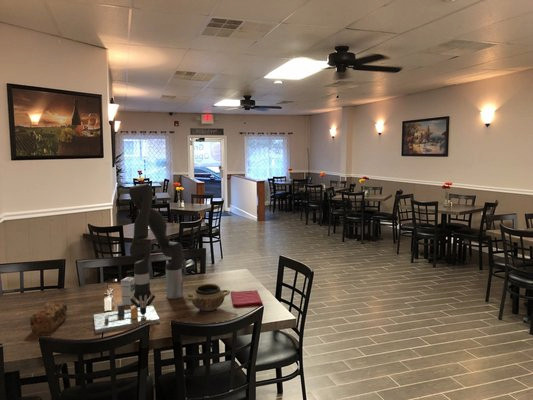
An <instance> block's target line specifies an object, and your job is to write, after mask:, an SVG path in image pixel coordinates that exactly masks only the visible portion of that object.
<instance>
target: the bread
mask: <svg viewBox="0 0 533 400" xmlns="http://www.w3.org/2000/svg"><path fill="white" fill-rule="evenodd" d="M67 313H68V306H67V304H66V303H64V302H62V301H58V300H51V301H48V302H45V304H44V305H42V306H41V307H40V308H39V309H38V310H36V311H35V312H34V313H33V314H32V315H31V316H30V320H29V324H30V329H31V330H30V331H31V332H32V333H36V332H39V333H52V332H53V331H54V330H56V329H57V328H58V327H59V326H60V325H61V324H62V323H63V322H64V321H65V320H66V318H67V315H68V314H67ZM55 328H56V329H55Z"/></svg>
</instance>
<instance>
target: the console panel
mask: <svg viewBox="0 0 533 400" xmlns="http://www.w3.org/2000/svg"><path fill="white" fill-rule="evenodd" d="M116 305H117V311H109V312H104V313H103V312H102V313H101V312H100V313H97V314H93V321H94V322H93V323H94V332H95V334H100V333H107V332H113V331H119V330H124V329H130V328H134V327H135V328H136V327H139V326H138V325H140V324H143V323H145V322H149V323H150V324H149V325H153V324H152V323H154V324H158V323H159V324H160V317H159V315H158V313H157V311H156V308H155V307H154V305H149V306H147V307H146V313H145V315H142V314H141V313H140V308H139V307H138V318H135V319H132V318H131V310H130V308H128V309H125V305H124V303H123V302H122V301H121V302H117V303H116Z"/></svg>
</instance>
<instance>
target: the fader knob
mask: <svg viewBox="0 0 533 400" xmlns="http://www.w3.org/2000/svg"><path fill="white" fill-rule="evenodd" d="M129 307H130V308H129V309H130V310H131V318H132V319H135V318H138V308H139V307H138V308H137V307H136V306H135V305H134V304H132V305H129Z"/></svg>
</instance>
